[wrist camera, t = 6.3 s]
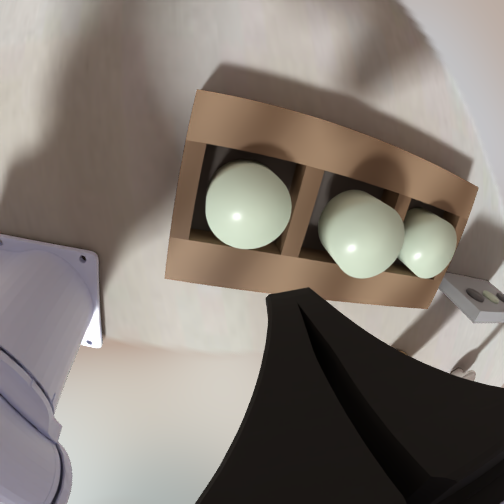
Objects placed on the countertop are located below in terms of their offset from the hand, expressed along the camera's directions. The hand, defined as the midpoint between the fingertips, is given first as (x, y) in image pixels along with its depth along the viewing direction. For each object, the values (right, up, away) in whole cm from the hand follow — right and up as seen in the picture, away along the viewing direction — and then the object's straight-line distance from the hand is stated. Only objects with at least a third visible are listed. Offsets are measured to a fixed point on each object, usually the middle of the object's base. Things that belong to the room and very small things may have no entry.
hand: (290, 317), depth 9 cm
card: (+18, -1, +13) cm, 22 cm away
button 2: (-2, +5, +7) cm, 9 cm away
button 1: (+10, +3, +9) cm, 14 cm away
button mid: (+4, +4, +7) cm, 9 cm away
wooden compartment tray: (+4, +4, +9) cm, 11 cm away
